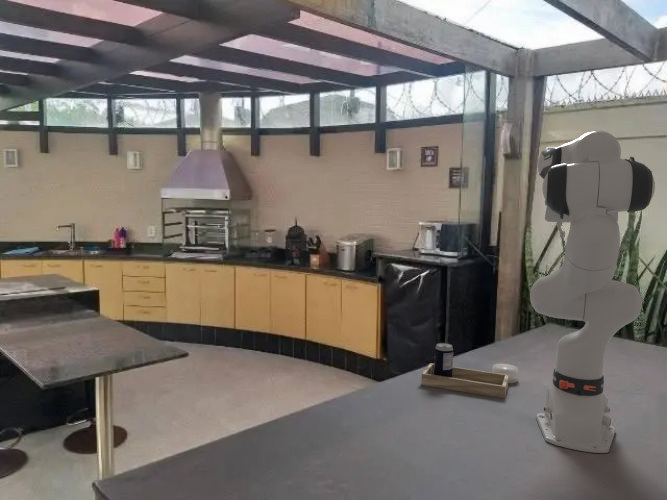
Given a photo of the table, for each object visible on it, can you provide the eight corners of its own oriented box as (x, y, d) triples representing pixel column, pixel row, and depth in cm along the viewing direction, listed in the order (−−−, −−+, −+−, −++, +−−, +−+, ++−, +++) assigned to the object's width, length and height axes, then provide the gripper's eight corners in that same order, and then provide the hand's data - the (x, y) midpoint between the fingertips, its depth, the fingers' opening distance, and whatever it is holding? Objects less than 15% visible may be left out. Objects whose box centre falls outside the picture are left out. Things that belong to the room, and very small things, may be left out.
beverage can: (450, 379, 170) (452, 343, 169) (452, 385, 165) (454, 348, 163) (432, 378, 171) (434, 342, 170) (434, 384, 165) (436, 347, 164)
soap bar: (516, 385, 166) (517, 373, 166) (490, 381, 170) (491, 369, 169) (518, 377, 174) (519, 365, 173) (493, 373, 177) (494, 362, 176)
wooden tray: (504, 398, 155) (505, 387, 154) (421, 384, 164) (421, 374, 164) (508, 385, 166) (508, 374, 165) (429, 373, 175) (430, 363, 175)
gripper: (545, 191, 161) (542, 236, 162) (620, 193, 153) (617, 240, 154) (545, 192, 166) (542, 235, 168) (618, 193, 158) (614, 239, 160)
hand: (578, 238), depth 161 cm, fingers open, 8 cm apart
